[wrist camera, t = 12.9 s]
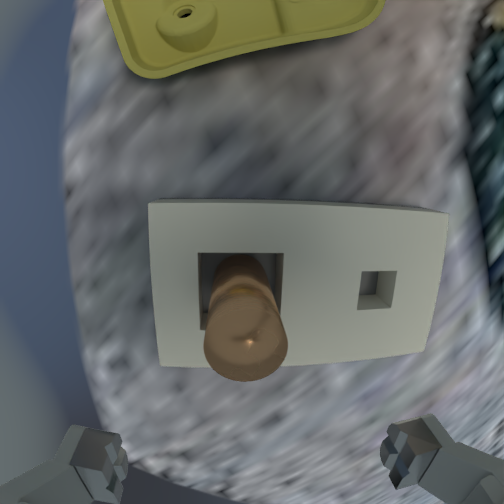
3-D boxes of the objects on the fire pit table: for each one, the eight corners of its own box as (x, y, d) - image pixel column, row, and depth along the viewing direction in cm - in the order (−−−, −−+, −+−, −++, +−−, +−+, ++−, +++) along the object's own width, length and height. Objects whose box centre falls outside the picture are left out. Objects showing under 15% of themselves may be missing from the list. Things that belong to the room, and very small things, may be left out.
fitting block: (168, 340, 26) (160, 366, 22) (160, 198, 23) (148, 203, 20) (403, 331, 28) (423, 351, 24) (422, 207, 25) (449, 213, 21)
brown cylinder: (213, 254, 24) (201, 309, 14) (267, 254, 24) (291, 309, 14) (213, 303, 25) (205, 381, 15) (265, 304, 25) (284, 380, 15)
